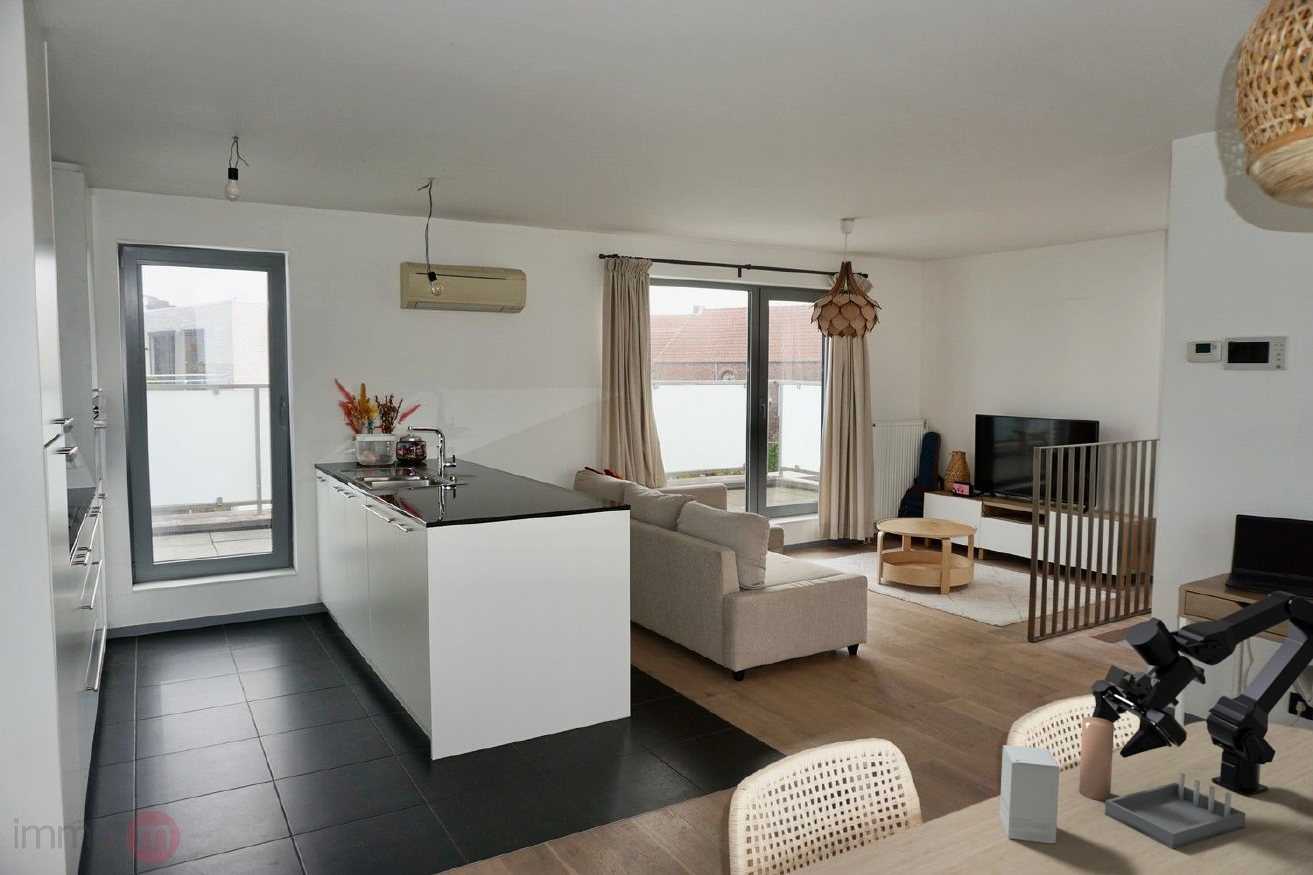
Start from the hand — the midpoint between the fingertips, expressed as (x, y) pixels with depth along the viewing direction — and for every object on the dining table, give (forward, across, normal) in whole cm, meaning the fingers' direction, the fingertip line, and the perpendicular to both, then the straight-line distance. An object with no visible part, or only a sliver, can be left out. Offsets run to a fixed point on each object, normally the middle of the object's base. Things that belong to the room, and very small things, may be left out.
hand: (1104, 744), depth 154 cm
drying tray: (+2, +10, +10) cm, 15 cm away
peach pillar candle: (+7, 0, +5) cm, 9 cm away
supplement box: (+21, +11, -8) cm, 25 cm away
